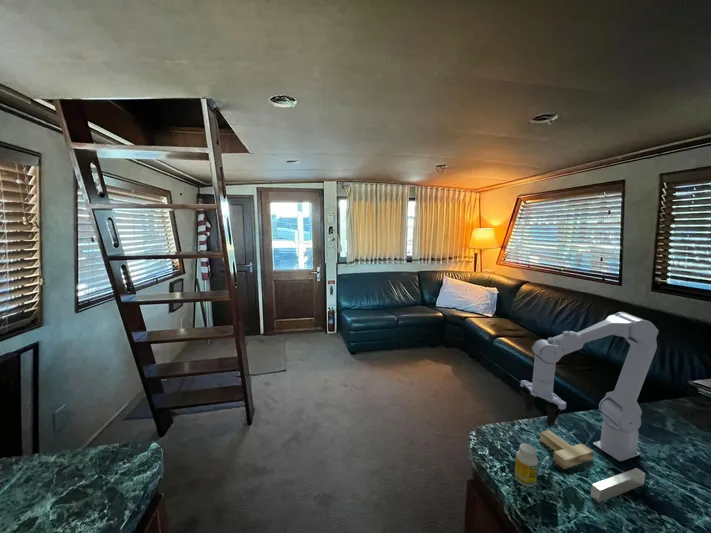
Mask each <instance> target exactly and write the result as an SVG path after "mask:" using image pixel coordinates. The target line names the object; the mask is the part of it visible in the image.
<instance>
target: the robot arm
mask: <svg viewBox="0 0 711 533" xmlns="http://www.w3.org/2000/svg"><path fill="white" fill-rule="evenodd" d="M612 335H613V336H618V337H620V338H621V337H622V338H624V339H625V340H626V342H627V343H628V344H629V345H630V347H629V349H628V352H627V355H626V357H625V360H624V363H623V365H622V369H621V371H620V374H619V376H618V379H617V382H616V385H615V388H614V390H613V391H608V392H606V393H605V395H604V397H603V398H602V399H600V402H598V408H599V411H600V412H601V413H602V415H601V416H602V423H601V424H602V427H601V432H600V434H601V435H600V440H598V441H595V442H593V443H592V444H593V446H595V447H596V448H598V449H600V450H601V451H603V452H604V453H606V454H608V455H609V456H611V457H613V459H615V460H617V461H618V462H622V461H626V460H628V459H631V458H632V459H633V458H636V457H637V456H640V455H641V453H640V452H638V451H637V449H638V443H639V435H640V434H639V428H640V427H641V425H642V419H641V416H642V414H643V411H642V409H641V407H640V405H639V403H638V399H639V396H640V393H641V390H642V387H643V385H644V383H645V380H646V377H647V374H648V372H649V370H650V367H651V364H652V361H653V359H654V357H655V354H656V351H657V348H658V344H657V337H658V335H659V329H658V328H657V327H656V325H654V323H653V322H651V321H650V320H646V319H643V318H641V317H638V316H635V315H632V314H630V313H628V312H625V311H619V312H616V313H614V314H611V315H608V316H606V318H605V319H604V320H602V321H600V322H597V323H595V324H593V325H590V326H588V327H587V328H584V329H582V330H580V331H577V332H576V331H572V330H569V331H568V330H565V331H562V334H559V335H556V336H553V337H552V336H551V337H547V339H543V338H542V339H539V340H537V341H535V342H534V344H533V345H532V346H531V350H532V353H533V354H534V362H533V370H532V382H530V381H528V380H525V379H524V380H520V384H519V386H520V387H522V388H521V389H520V390H519V393H520V394H521V396H522V399H523V402H524V405H525V406H524V407H525V411H526V412H527V413H530V412H533V410H534V404H535V398H536V397H539V398H541V399H544V400H546V401H547V402H548V404H545V409H546V415H547V416H546V425H547V426H549V427H552V426H554V424H555V422H556V420H557V418H558V416H560V414H561V413H562V412H563V411H564V410H566V408H567V402H566V401H564V400H562V399H561V397H559V396H558V395H557V394H556V393H554V384H555V373H556V363H558V362H559V361H560V360H561V358H562V357H564V356H565V355H568V354H570V353H573V352H576V351H578V350H581V349H583V347H584V345H585V344H586V343H589V342H592V341H596V340H599V339H601V338H605V337H609V336H612Z"/></svg>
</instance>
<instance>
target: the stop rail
mask: <svg viewBox="0 0 711 533" xmlns="http://www.w3.org/2000/svg"><path fill="white" fill-rule="evenodd" d="M645 477H646V473H645V472H644V471H643V470H642V469H640V468H637V467H636V468H633V469H630V470H627V471H624V472H622V473H619V474H616V475H613V476H610V477H608V478H606V479H602V480H599V481H597V482H594V483H592V484H591V488H590V497H591V498H592V499H593V500H595V502H597V503H601V502H604V501H606V500H609V499H612V498H614V497H617V496H619V495H621V494H624V493H627V492H629V491H631V490H633V489H636V488H639V487H642V486H644V484H645V479H646V478H645Z"/></svg>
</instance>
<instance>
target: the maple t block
mask: <svg viewBox="0 0 711 533" xmlns="http://www.w3.org/2000/svg"><path fill="white" fill-rule="evenodd" d="M539 441H540V442H541V443H543V444H544V445H545V444H546V446H547V447H548V446H549V447H550V448H549V447H548V448H549V449H551V450H552V449H553V450H554V451H553V450H552V451H553V454H552V462H554V461H555V462H556V463H557V464H558V466H559V467H560V468H561V467H562V468H561V469H562V470H567V469H569V467H570V468H572V466H573V467H575V466H574V465H576V466H578V465H577V464H579V465H581V464H580V463H582V464H584V463H583V462H585V463H587V462H586V461H588V462H590V461H589V460H591V461H593V459H594V450H593V449H591V448H589V447H588V446H586V445H585V444H583V443H578V444H575V445H571V444H570V443H568V442H567V441H565V440H564V439H562V438H561V437H559V436H558V435H556V434H555V433H554V432H552V431H551V430H549V429H548V430H544V431H540V434H539ZM555 462H554V463H555ZM556 463H555V464H556ZM557 464H556V465H557ZM566 468H567V469H566Z"/></svg>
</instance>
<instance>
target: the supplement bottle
mask: <svg viewBox="0 0 711 533" xmlns="http://www.w3.org/2000/svg"><path fill="white" fill-rule="evenodd" d="M518 448H519V449H518V450H517V451H516V453H515V461H514V462H515V464H514V465H515V466H514V478H515V480H517V482H518V483H519V484H521V485H523V486H525V487H530V488H531V487H534V486H535V485H536V484H537V479H538V478H537V476H538V467H539V466H538V465H539V460H538V457H537V450H536V448H535V447H534V446H533V445H531V444H529V443H524V442H523V443H520V444H519V447H518Z"/></svg>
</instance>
